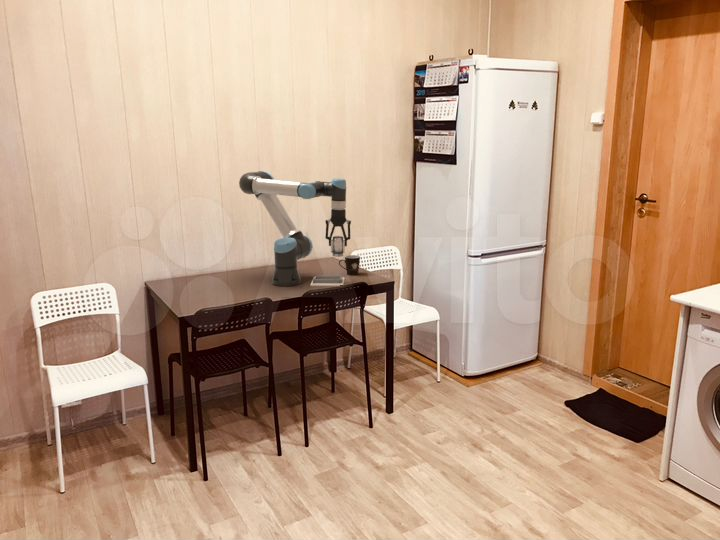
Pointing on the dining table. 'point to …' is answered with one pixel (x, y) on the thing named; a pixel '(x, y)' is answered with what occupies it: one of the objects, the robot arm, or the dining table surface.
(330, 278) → the grey flat tray
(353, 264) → the coffee mug
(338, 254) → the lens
